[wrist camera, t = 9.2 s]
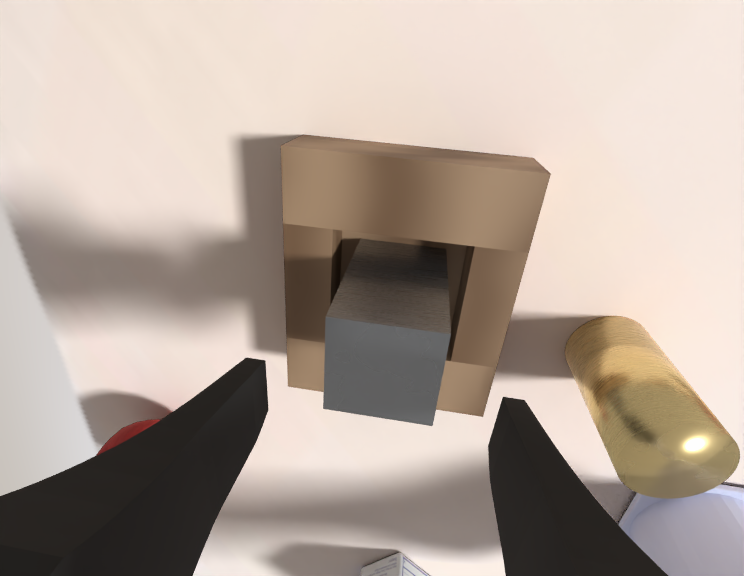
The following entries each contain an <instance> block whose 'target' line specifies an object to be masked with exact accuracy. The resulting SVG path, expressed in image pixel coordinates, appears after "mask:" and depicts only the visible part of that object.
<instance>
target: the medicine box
mask: <svg viewBox="0 0 744 576" xmlns="http://www.w3.org/2000/svg"><path fill="white" fill-rule="evenodd" d="M360 576H429V575H428V574H427V573H425V572H424V571H423V570H422V569H420V568H419V567H418V566H417V565H415V564H414V563H413V562H411V561H410V560H409V559H408V558H406V557H405V556H404V555H403V554H402V553H396V554H394V555H391V556H389V557H386V558H384V559H381V560H379V561H376V562H374V563H372V564H370V565H367V566H365V567H363V568H362V569H361V575H360Z"/></svg>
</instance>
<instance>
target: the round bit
mask: <svg viewBox="0 0 744 576" xmlns="http://www.w3.org/2000/svg"><path fill="white" fill-rule="evenodd" d="M565 357H566V360H567V363H568V365H569V367H570V370H571V372H572V374H573V376H574V378H575V381H576V383H577V385H578V387H579V390H580V392H581V394H582V396H583V399H584V401H585V403H586V405H587V408H588V410H589V412H590V414H591V416H592V419H593V421H594V423H595V425H596V428H597V430H598V432H599V434H600V437H601V439H602V441H603V443H604V446H605V448H606V450H607V452H608V455H609V457H610V459H611V461H612V463H613V466H614V468H615V470H616V472H617V475H618V477H619V479H620V480H621V481H622V482H623V483H624V485H626V486H627V487H628V488H630V489H631V490H633V491H635V492H637V493H639V494H642V495H645V496H649V497H654V498H666V499H672V498H684V497H689V496H694V495H698V494H701V493H704V492H706V491H709V490H711V489H713V488H715V487H717V486H718V485H720V484H721V483H723V482H724V481H725V480H727V479H728V478H729V477H730V476H731V475H732V473H733V472H734V471H735V469H736V468H737V465H738V463H739V459H740V451H739V448H738V445H737V443H736V442H735V440H734V439H733V438H732V437H731V436H730V434H729V433H728V432H727V431H726V429H725V428H724V427H723V426H722V424H721V423H720V422H719V421H718V419H717V418H716V417H715V416H714V414H713V413H712V412H711V411H710V409H709V408H708V407H707V406H706V404H705V403H704V402H703V401H702V399H701V398H700V397H699V396H698V394H697V393H696V392H695V391H694V389H693V388H692V387H691V386H690V385H689V383H688V382H687V381H686V380H685V378H684V377H683V376H682V375H681V373H680V372H679V371H678V370H677V368H676V367H675V366H674V365H673V363H672V362H671V361H670V360H669V358H668V357H667V356H666V355H665V353H664V352H663V351H662V350H661V348H660V347H659V346H658V345H657V343H656V342H655V341H654V340H653V338H652V337H651V336H650V335H649V333H648V332H647V331H646V330H645V329H644V327H643V326H642V325H640V324H639V323H638V322H636V321H634V320H632V319H629V318H626V317H621V316H607V317H601V318H597V319H594V320H591V321H589V322H587V323H585V324H584V325H582V326H581V327H579V328H578V329H577V330H576V331H575V332H574V333H573V334H572V335H571V336H570V338H569V340H568V342H567V344H566V348H565Z"/></svg>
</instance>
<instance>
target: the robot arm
mask: <svg viewBox="0 0 744 576" xmlns="http://www.w3.org/2000/svg"><path fill="white" fill-rule="evenodd" d="M267 412H268V396H267V380H266V364H265V360H258V359H252V358H245V359H244V360H243V361H241V362H240V363H239V364H237V365H236V366H235V367H233V368H232V369H231V370H229V371H228V372H227V373H226V374H224V375H223V376H222V377H220V378H219V379H218V380H216V381H215V382H214V383H213V384H211V385H210V386H209V387H207V388H206V389H204V390H203V391H202V392H200V393H199V394H198V395H196V396H195V397H194V398H192V399H191V400H189V401H188V402H187V403H185V404H184V405H182V406H181V407H179V408H178V409H176V410H175V411H173V412H172V413H170V414H169V415H168V416H166V417H165V418H163V419H162V420H160V421H158V422H157V423H155V424H154V425H152V426H150V427H149V428H147V429H145V430H144V431H142V432H140V433H138V434H137V435H135V436H133V437H131V438H130V439H128V440H126V441H124V442H122V443H120V444H119V445H117V446H115V447H113V448H111V449H109V450H107V451H105V452H103V453H101V454H99V455H97V456H95V457H93V458H91V459H89V460H87V461H85V462H83V463H81V464H78V465H76V466H74V467H72V468H69V469H67V470H65V471H63V472H60V473H58V474H56V475H53V476H51V477H49V478H46V479H44V480H42V481H39V482H37V483H35V484H32V485H29V486H27V487H24V488H22V489H19V490H16V491H13V492H11V493H8V494H5V495H3V496H0V576H193V573H194V571H195V568H196V565H197V563H198V560H199V558H200V555H201V553H202V551H203V548H204V546H205V543H206V541H207V539H208V536H209V534H210V531H211V529H212V527H213V524H214V522H215V520H216V518H217V516H218V514H219V512H220V510H221V507H222V506H223V504H224V502H225V500H226V498H227V496H228V494H229V492H230V490H231V489H232V487H233V485H234V483H235V481H236V479H237V477H238V475H239V473H240V472H241V470H242V468H243V466H244V464H245V462H246V460H247V458H248V456H249V454H250V453H251V451H252V449H253V447H254V445H255V443H256V441H257V439H258V436H259V433H260V431H261V428H262V426H263V423H264V420H265V418H266V415H267ZM488 451H489V471H490V483H491V489H492V495H493V501H494V507H495V513H496V518H497V524H498V530H499V536H500V541H501V547H502V553H503V559H504V565H505V573H506V576H744V488H740V487H734V486H727V485H721V484H720V485H718V486H717V487H715V488H713V489H711V490H709V491H706V492H704V493H701V494H698V495H694V496H689V497H684V498H672V499H666V498H654V497H649V496H645V495H642V494H639V493H637V494H636V495H635V497H634V499H633V500H632V502H631V504H630V505H629V507H628V509H627V510H626V512H625V514H624V515H623V517H622V519H621V520H620V522H619V524H617V523H616V522H615V521H614V520H613V519H612V518H611V516H610V515H609V514H608V513H607V512H606V511H605V510H604V509H603V508H602V506H601V505H600V504H599V503H598V502H597V500H596V499H595V498H594V497H593V496H592V494H591V493H590V492H589V491H588V489H587V488H586V487H585V486H584V484H583V483H582V482H581V481H580V479H579V478H578V477H577V475H576V474H575V473H574V471H573V470H572V469H571V467H570V466H569V465H568V463H567V462H566V460H565V459H564V458H563V456H562V455H561V454H560V452H559V451H558V449H557V448H556V447H555V445H554V444H553V442H552V441H551V439H550V438H549V436H548V435H547V433H546V432H545V430H544V429H543V427H542V426H541V424H540V423H539V421H538V420H537V418H536V417H535V415H534V414H533V412H532V411H531V409H530V408H529V406H528V405H527V403H526V402H525V400H520V399H513V398H507V397H503V399H502V402H501V405H500V409H499V412H498V415H497V419H496V422H495V425H494V428H493V432H492V435H491V438H490V442H489V445H488Z"/></svg>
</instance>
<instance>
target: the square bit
mask: <svg viewBox="0 0 744 576" xmlns="http://www.w3.org/2000/svg"><path fill="white" fill-rule="evenodd" d="M450 337H451V326H450V308H449V289H448V271H447V253H446V249H444V248H436V247H428V246H420V245H412V244H403V243H395V242H387V241H379V240H370V239H362V238H361V239H360V241H359V243H358V246H357V248H356V250H355V252H354V255H353V257H352V259H351V261H350V263H349V266H348V268H347V270H346V272H345V275H344V277H343V279H342V281H341V284H340V286H339V288H338V290H337V292H336V295H335V297H334V299H333V301H332V304H331V306H330V308H329V310H328V313H327V315H326V320H325V362H324V403H323V409H329V410H335V411H341V412H348V413H354V414H360V415H366V416H373V417H379V418H385V419H392V420H398V421H404V422H410V423H417V424H423V425H429V426H433V421H434V416H435V411H436V406H437V401H438V396H439V391H440V386H441V381H442V376H443V371H444V366H445V361H446V356H447V351H448V346H449V342H450Z"/></svg>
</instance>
